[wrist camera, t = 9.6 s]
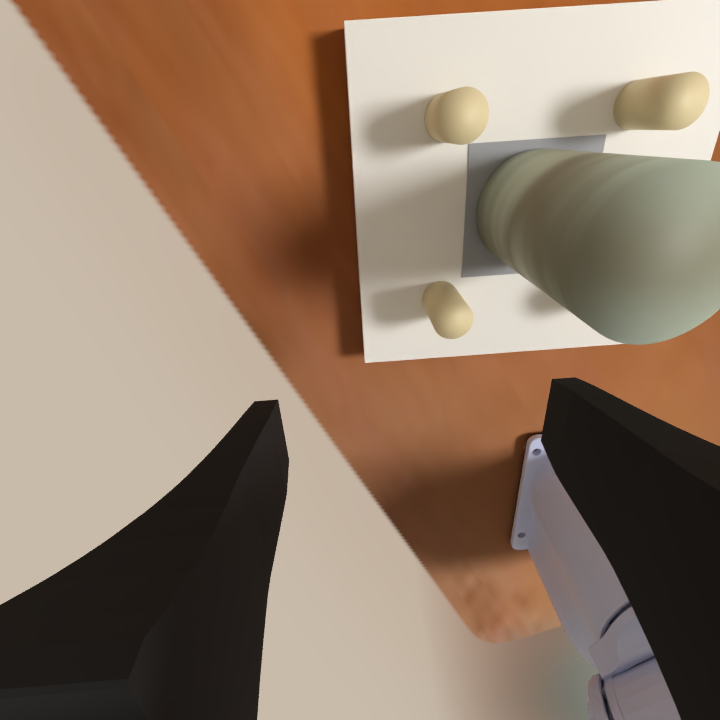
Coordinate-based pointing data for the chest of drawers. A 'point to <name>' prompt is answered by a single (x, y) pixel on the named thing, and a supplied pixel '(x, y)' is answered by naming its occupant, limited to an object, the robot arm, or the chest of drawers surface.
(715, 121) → the base plate
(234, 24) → the chest of drawers surface
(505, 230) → the peg
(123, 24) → the chest of drawers surface
